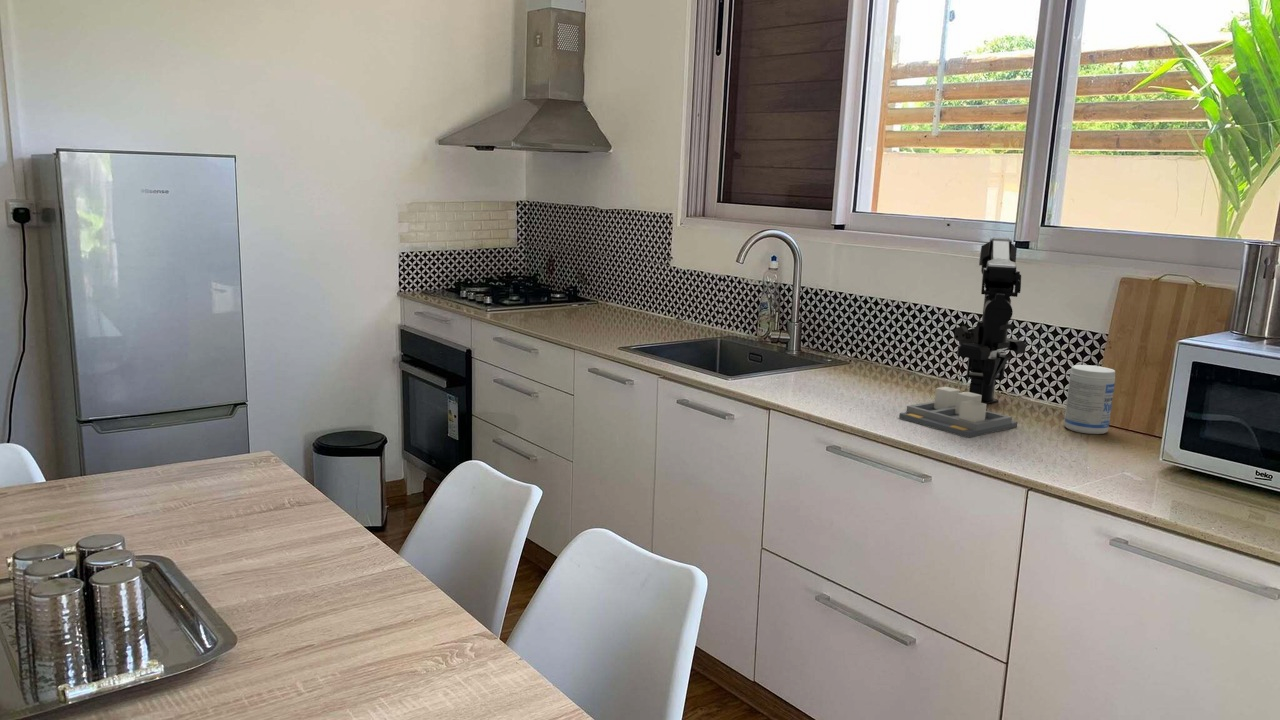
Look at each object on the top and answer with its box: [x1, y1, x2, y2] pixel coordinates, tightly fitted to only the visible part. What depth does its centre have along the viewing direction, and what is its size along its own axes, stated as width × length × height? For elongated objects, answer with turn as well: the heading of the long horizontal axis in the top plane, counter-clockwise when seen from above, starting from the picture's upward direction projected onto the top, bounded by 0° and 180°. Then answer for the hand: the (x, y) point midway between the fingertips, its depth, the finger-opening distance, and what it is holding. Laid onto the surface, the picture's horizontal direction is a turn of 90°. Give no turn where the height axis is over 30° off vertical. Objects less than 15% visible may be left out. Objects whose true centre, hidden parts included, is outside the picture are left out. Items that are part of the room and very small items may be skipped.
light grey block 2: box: [959, 400, 987, 423], centre depth 216 cm, size 4×4×5 cm
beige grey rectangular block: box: [934, 386, 961, 409], centre depth 230 cm, size 4×4×5 cm
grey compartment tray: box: [898, 400, 1018, 439], centre depth 224 cm, size 19×19×3 cm
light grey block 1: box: [955, 391, 982, 415], centre depth 225 cm, size 4×4×5 cm
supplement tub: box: [1063, 364, 1116, 435], centre depth 221 cm, size 10×10×15 cm
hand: (987, 384), depth 221 cm, fingers closed
